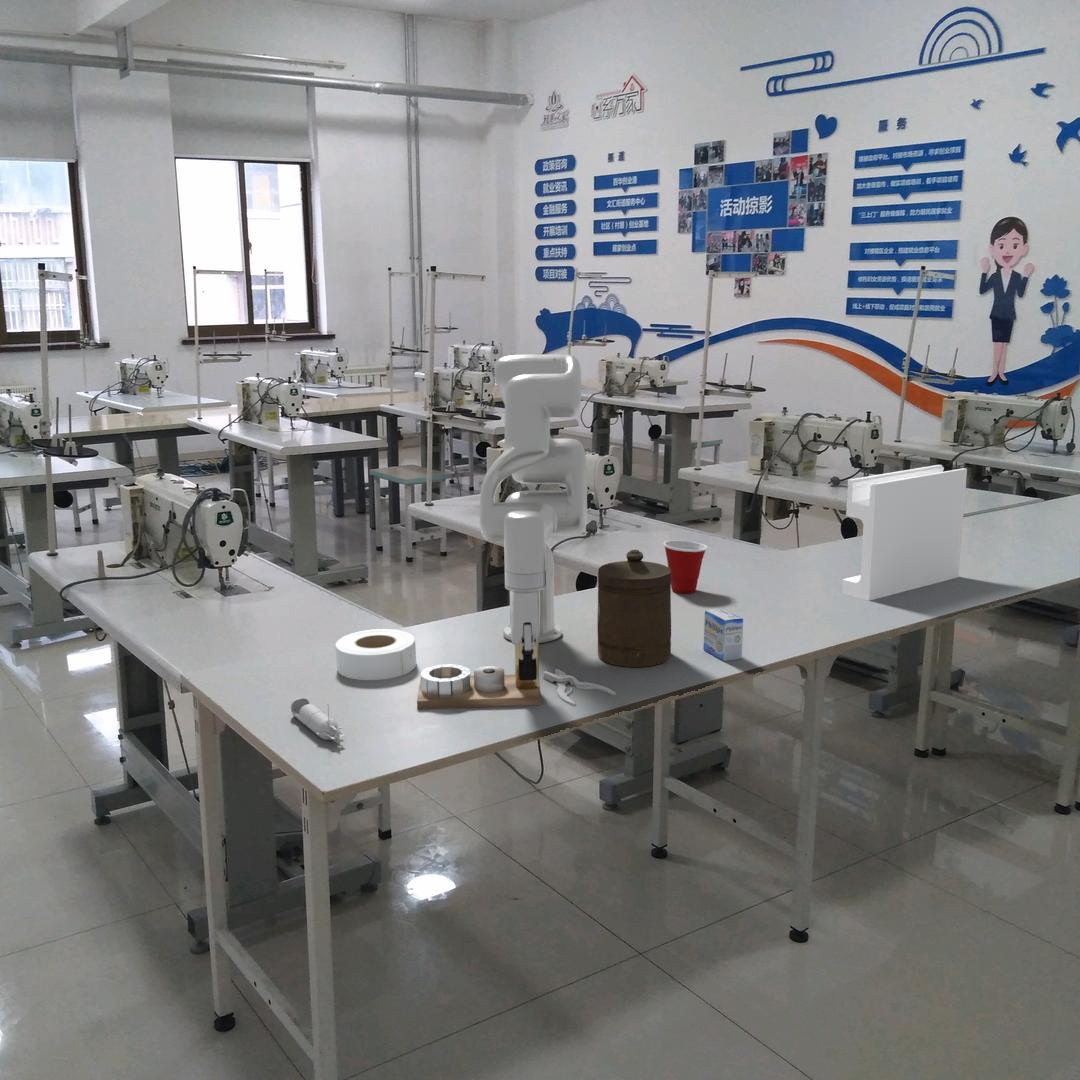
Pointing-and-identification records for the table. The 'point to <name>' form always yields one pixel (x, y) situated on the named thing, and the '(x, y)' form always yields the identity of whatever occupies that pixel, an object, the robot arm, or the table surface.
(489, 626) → the table surface
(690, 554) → the plastic cup
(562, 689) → the pliers
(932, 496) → the block
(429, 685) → the ring
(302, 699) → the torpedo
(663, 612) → the wooden container
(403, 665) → the roll of tape
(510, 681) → the fitting board
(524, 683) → the brass peg
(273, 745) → the table surface
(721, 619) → the medicine box
